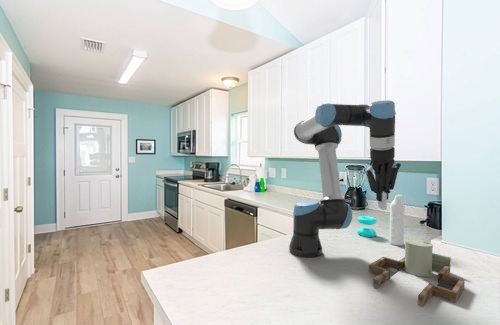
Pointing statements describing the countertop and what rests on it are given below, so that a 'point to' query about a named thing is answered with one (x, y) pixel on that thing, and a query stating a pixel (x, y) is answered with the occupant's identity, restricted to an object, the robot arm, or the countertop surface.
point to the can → (418, 257)
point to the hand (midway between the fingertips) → (382, 207)
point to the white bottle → (397, 221)
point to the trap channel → (444, 289)
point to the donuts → (365, 231)
